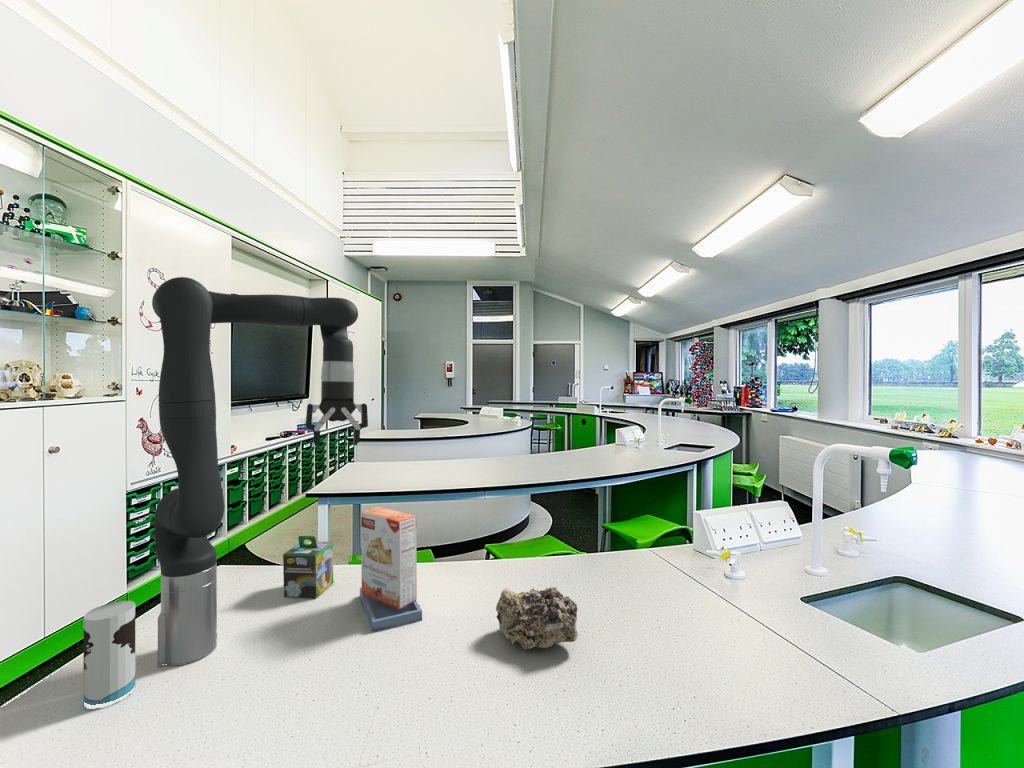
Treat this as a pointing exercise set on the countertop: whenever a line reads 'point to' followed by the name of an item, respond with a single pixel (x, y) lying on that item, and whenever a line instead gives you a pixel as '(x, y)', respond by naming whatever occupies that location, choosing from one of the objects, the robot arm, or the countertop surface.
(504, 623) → the mineral specimen
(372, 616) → the tray
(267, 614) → the countertop surface
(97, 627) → the white cylindrical canister
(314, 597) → the chalk box
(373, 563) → the cracker box
